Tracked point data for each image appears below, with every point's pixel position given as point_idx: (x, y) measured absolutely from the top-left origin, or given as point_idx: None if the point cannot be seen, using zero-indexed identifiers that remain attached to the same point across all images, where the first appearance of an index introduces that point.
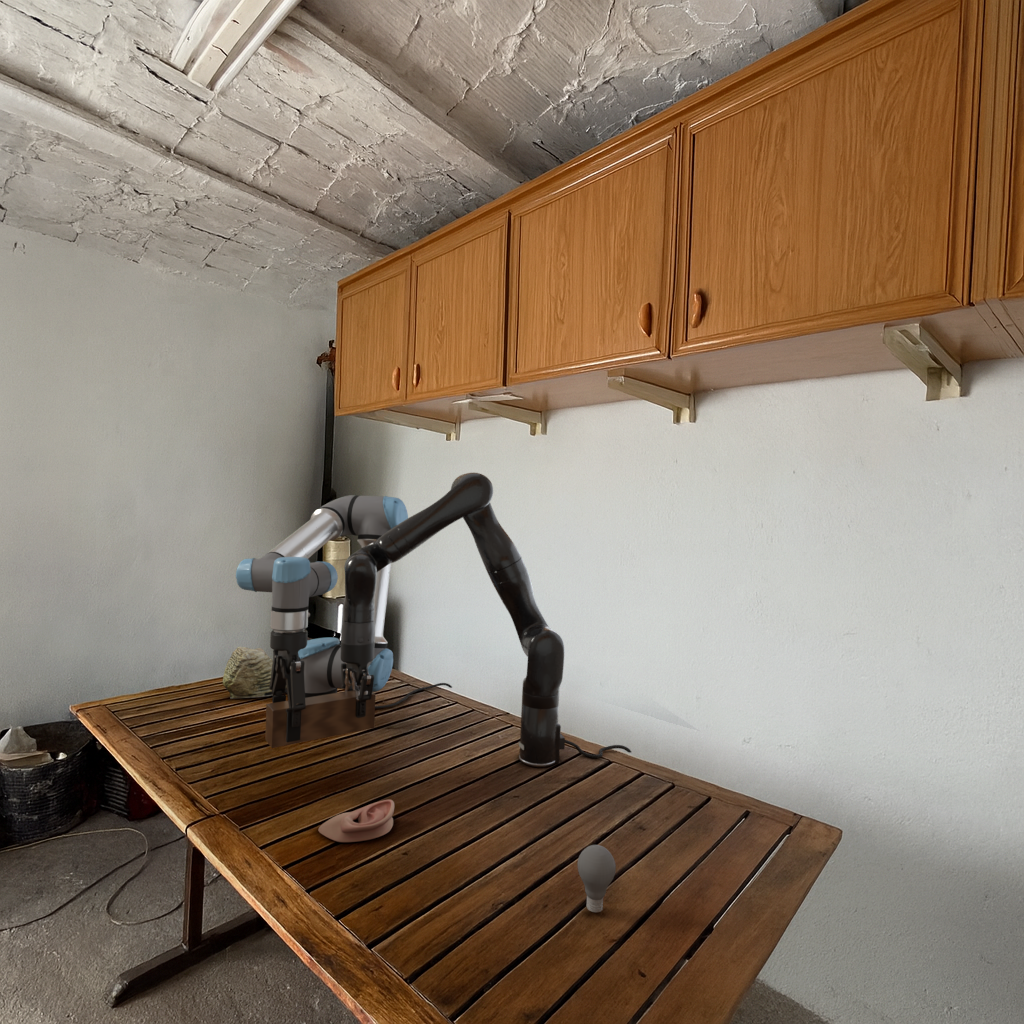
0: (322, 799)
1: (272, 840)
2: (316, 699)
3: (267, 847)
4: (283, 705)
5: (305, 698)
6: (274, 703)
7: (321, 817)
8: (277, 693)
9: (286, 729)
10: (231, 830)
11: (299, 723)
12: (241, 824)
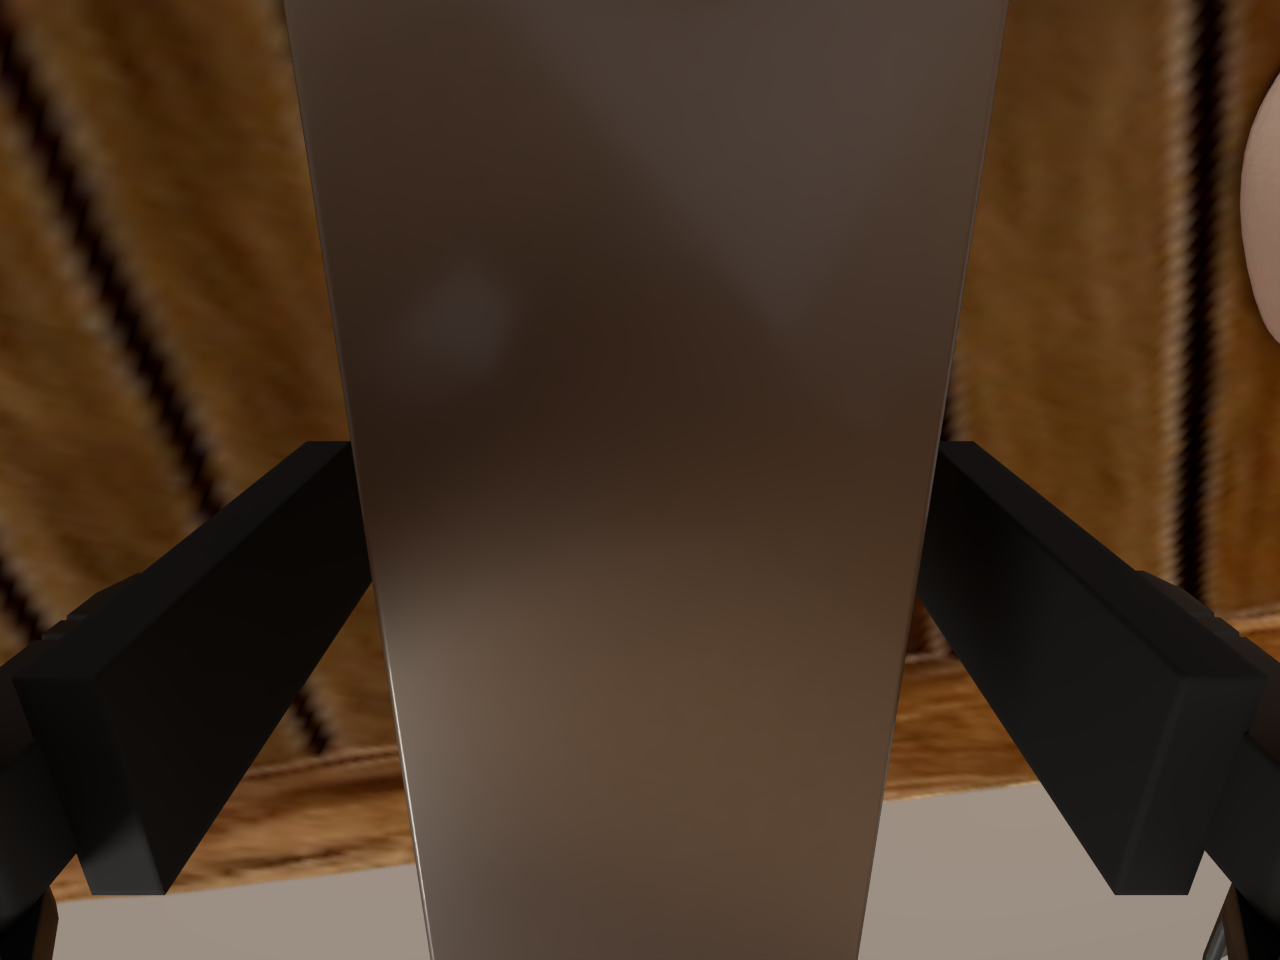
0: None
1: (1170, 565)
2: (618, 11)
3: (1211, 598)
4: (669, 817)
5: (384, 284)
6: (473, 903)
7: (1145, 271)
8: (30, 860)
9: (962, 662)
10: (943, 688)
11: (1183, 595)
12: (917, 642)
